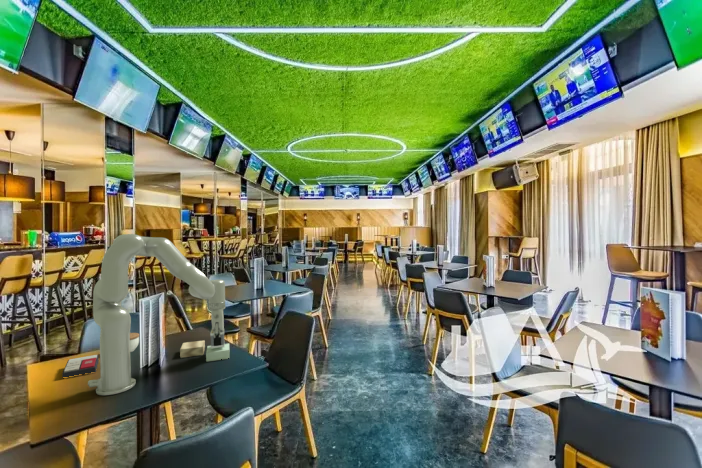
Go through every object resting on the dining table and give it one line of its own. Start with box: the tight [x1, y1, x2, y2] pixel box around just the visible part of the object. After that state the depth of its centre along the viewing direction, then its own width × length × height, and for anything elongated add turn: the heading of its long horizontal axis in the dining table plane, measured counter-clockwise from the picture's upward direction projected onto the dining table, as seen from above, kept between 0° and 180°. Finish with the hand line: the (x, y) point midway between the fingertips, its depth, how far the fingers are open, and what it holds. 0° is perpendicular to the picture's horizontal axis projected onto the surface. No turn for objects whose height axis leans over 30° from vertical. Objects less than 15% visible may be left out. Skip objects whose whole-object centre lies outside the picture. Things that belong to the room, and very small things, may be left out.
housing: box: [210, 329, 226, 348], centre depth 160 cm, size 6×6×8 cm
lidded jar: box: [130, 332, 140, 353], centre depth 170 cm, size 11×11×9 cm
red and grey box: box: [61, 354, 100, 378], centre depth 147 cm, size 11×4×15 cm
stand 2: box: [205, 342, 230, 363], centre depth 160 cm, size 10×10×4 cm
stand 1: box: [179, 339, 206, 359], centre depth 166 cm, size 10×10×4 cm
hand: (217, 343), depth 160 cm, fingers closed on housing, 5 cm apart
